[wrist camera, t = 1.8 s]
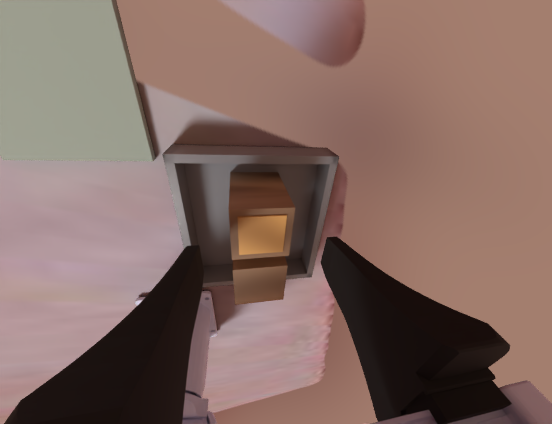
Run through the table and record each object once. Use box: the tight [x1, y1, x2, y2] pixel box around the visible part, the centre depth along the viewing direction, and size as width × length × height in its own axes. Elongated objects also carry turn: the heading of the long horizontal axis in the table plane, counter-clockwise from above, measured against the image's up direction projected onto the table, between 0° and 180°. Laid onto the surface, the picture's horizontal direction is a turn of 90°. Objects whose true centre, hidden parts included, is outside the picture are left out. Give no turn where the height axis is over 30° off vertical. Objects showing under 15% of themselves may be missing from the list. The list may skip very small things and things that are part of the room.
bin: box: [163, 144, 339, 288], centre depth 19 cm, size 13×12×2 cm
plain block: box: [233, 256, 288, 305], centre depth 18 cm, size 4×4×6 cm
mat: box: [0, 0, 155, 161], centre depth 12 cm, size 9×9×1 cm
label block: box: [228, 172, 295, 260], centre depth 16 cm, size 4×4×6 cm
